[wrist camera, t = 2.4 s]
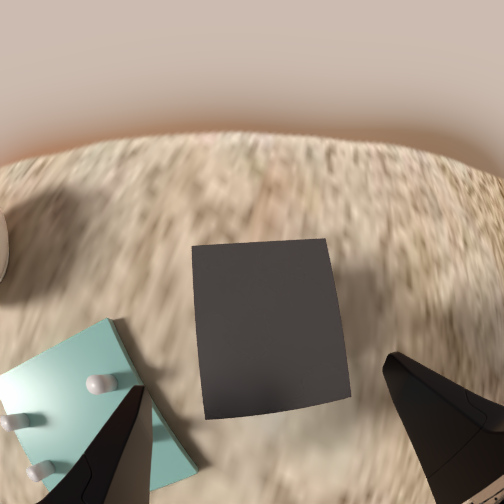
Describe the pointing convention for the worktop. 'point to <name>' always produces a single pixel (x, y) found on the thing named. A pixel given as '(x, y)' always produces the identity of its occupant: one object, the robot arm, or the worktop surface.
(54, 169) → the worktop surface
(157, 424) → the pin tray
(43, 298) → the worktop surface
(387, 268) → the worktop surface
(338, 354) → the plate
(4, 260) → the lidded jar
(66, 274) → the worktop surface
